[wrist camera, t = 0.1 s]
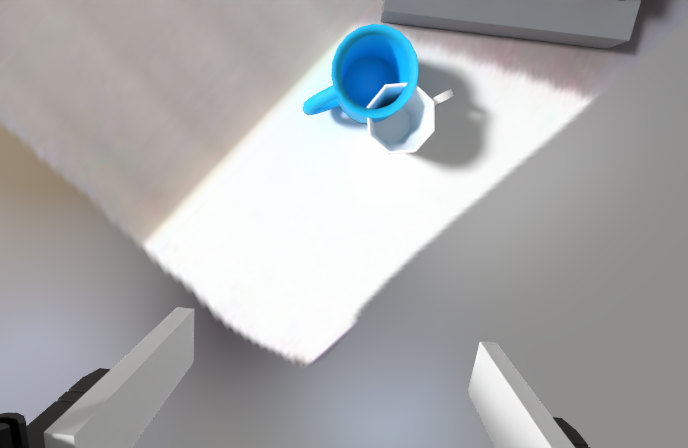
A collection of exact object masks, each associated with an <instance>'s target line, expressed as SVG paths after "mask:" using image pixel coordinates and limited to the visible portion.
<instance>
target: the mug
mask: <svg viewBox="0 0 688 448" xmlns="http://www.w3.org/2000/svg"><path fill="white" fill-rule="evenodd" d="M418 73H419V67H418V60H417V55H416V53H415V51H414V49H413V47H412V45H411V43H410V41H409V40H408V39H407V38H406V37H405V36H404V35H403V34H402V33H401V32H400V31H398V30H396V29H394V28H391V27H389V26H387V25H378V24H371V25H367V26H364V27H360V28H358V29H356V30H355V31H353V32H352V33H350V34H349V35H347V36H346V38H345V39H344V40H343V42H342V43H341V44H340V45H339V47H338V49H337V51H336V54H335V56H334V59H333V63H332V80H333V86H331V87H329V88H327V89H325V90H323V91H321V92H319V93H317V94H316V95H314V96H312V97H311V98H309V99H308V100H307V101H306V102H305V103H304V105H303V111H304V113H305V114H307V115H314V114H318V113H321V112H324V111H327V110H330V109H333V108H335V107H338V106H340V107H341V109H342V110H343V112H344V113H345V114H346V115H348V116H349V117H350V118H351V119H353V120H355V121H357V122H360V123H366V124H367V118H371V119H372V121H373V122H374V123H375V122H379V121H383V120H385V119H386V118H388V117H390V116H391V115H393V114H394V113H396V112H397V111H398V110H400V109H401V108H402V107H403V106H404V105H405V104H406V103H407V101H408V100H409V99H410V98H411V96H412V94H413V92H414V90H415V87H416V85H417V80H418ZM396 83H407V85H406V87H405V88H404V90H403V91H402V92H401V94H400V95H399V96H398V98H397V99H396V100H395V101H394V102H393V103H392V104H390V105H389V106H387V107H383V108H379V109H372V108H367V106H368V105H369V104H370V102H371V101H372V100H373V99H374V98H375V96H376V95H377V94H378V93H379V91H380V90H381V89H382V88H383V87H384V85H385V84H396Z"/></svg>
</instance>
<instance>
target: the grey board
mask: <svg viewBox="0 0 688 448" xmlns="http://www.w3.org/2000/svg"><path fill="white" fill-rule="evenodd" d="M640 3H641V0H383V8H382V16H381V22H388V23H396V24H405V25H413V26H421V27H430V28H438V29H446V30H455V31H463V32H471V33H479V34H488V35H496V36H504V37H513V38H521V39H529V40H538V41H546V42H554V43H563V44H571V45H579V46H588V47H596V48H604V49H608V48H611V47H614V46H616V45H619V44H622V43H624V42H627V41H630V37H631V34H632V30H633V27H634V23H635V20H636V16H637V13H638V9H639V6H640Z"/></svg>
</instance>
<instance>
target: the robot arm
mask: <svg viewBox="0 0 688 448" xmlns="http://www.w3.org/2000/svg"><path fill="white" fill-rule="evenodd" d="M193 362H194V309H189V308H180V307H177V308H176V309H175V310H174V311H173V312H172V313H170V314H169V315H168V316H167V317H166V318H165V319H164V320H163V321H162V322H161V323H160V324H159V325H158V326H157V327H156V328H155V329H153V330H152V331H151V332H150V333H149V334H148V335H147V336H146V337H145V338H144V339H143V340H142V341H141V342H140V343H139V344H137V345H136V346H135V347H134V348H133V349H132V350H131V351H130V352H129V353H128V354H127V355H126V356H125V357H124V358H123V359H121V360H120V361H119V362H118V363H117V364H116V365H115V366H114V367H113V368H112V369H102V368H99V369H98V370H96V371H94V372H92V373H90V374H89V375H87V376H85V377H83V378H82V379H80V381H78V382H77V383H76V384H75V385H74V386H72V387H71V388H70V389H69V391H68V392H65V393H64V394H63V395H62V396H61V397H60V398H59V399H58V401H57V402H54V403H53V404H52V405H51V406H49V407H48V408H47V409H46V410H45V411H44V412H42V414H40V415H39V416H38V417H37V418H36V419H34V420H33V421H32V422H31V423H30V424H29V425H28V426H26V421H25V418H24V416H23V415H21V414H19V413H3V414H0V448H132V447H133V445H134V444H135V443H136V441H137V439H138V438H139V437H140V436H141V434H142V433H143V431H144V430H145V429H146V427H147V426H148V424H149V423H150V422H151V420H152V419H153V417H154V416H155V415H156V413H157V412H158V411H159V409H160V408H161V406H162V405H163V403H164V402H165V401H166V399H167V398H168V397H169V395H170V394H171V392H172V391H173V390H174V388H175V387H176V385H177V384H178V383H179V381H180V380H181V379H182V377H183V375H184V374H185V373H186V372H187V370H188V369H189V367H190V366H191V365H192V363H193ZM468 394H469V396H470V397H471V400H472V402H473V404H474V406H475V408H476V410H477V412H478V414H479V416H480V418H481V420H482V422H483V424H484V427H485V428H486V431H487V433H488V435H489V437H490V439H491V441H492V443H493V445H494V447H495V448H590V447H588V444H587V443H586V442H585V441H584V439H583V438H582V437H581V435H580V434H579V433H578V432H577V431H576V430H575V429H574V428H572V426H570V425H569V424H568V423H567V422H566V421H564V420H563V419H562V418H555V417H552V416H551V415H550V414H549V412H548V411H547V410H546V408H545V407H544V406H543V404H542V403H541V402H540V400H539V399H538V398H537V396H536V395H535V394H534V393H533V391H532V390H531V389H530V387H529V386H528V384H527V383H526V382H525V380H524V379H523V378H522V377H521V375H520V374H519V372H518V371H517V370H516V368H515V367H514V366H513V364H512V363H511V362H510V360H509V359H508V358H507V356H506V355H505V354H504V352H503V351H502V350H501V348H500V347H499V346H498V344H497V343H490V342H480V344H479V348H478V352H477V356H476V361H475V365H474V369H473V373H472V377H471V381H470V385H469V389H468Z"/></svg>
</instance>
